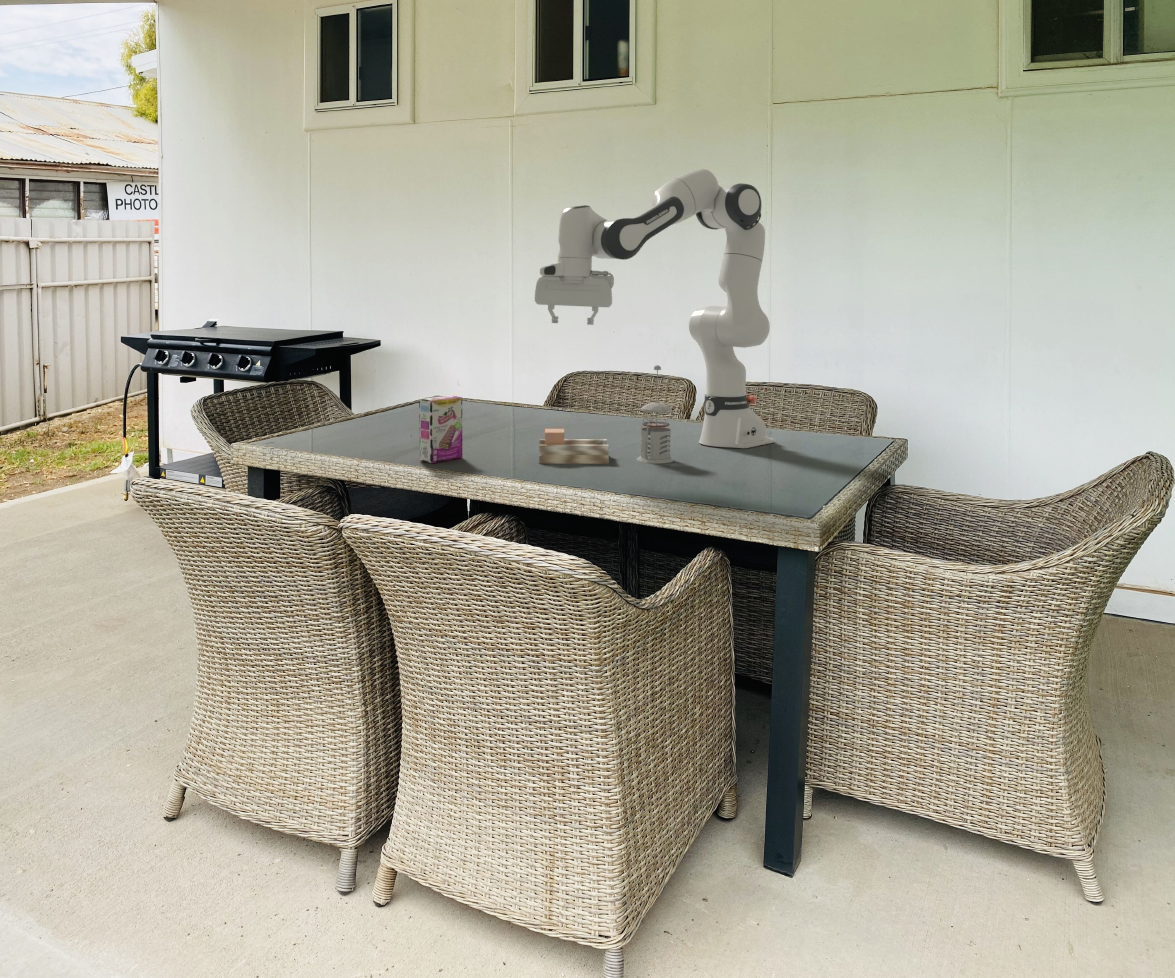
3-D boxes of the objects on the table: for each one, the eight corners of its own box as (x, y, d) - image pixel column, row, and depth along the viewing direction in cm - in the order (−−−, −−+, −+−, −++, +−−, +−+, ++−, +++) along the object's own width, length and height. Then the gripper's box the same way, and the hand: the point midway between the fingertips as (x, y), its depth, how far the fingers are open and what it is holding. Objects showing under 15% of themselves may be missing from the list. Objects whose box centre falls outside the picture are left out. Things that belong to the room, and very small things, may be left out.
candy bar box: (432, 464, 249) (430, 400, 246) (419, 461, 253) (417, 398, 249) (464, 458, 258) (463, 396, 254) (451, 455, 261) (449, 394, 257)
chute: (605, 454, 264) (606, 438, 263) (608, 463, 252) (609, 446, 251) (539, 454, 263) (539, 438, 262) (539, 463, 252) (539, 446, 251)
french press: (679, 458, 260) (682, 364, 254) (660, 466, 250) (662, 368, 244) (647, 455, 264) (649, 362, 259) (626, 461, 255) (628, 366, 249)
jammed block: (563, 449, 260) (563, 428, 259) (564, 453, 254) (564, 432, 253) (545, 449, 260) (545, 428, 259) (545, 453, 254) (545, 432, 253)
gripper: (615, 271, 254) (613, 325, 257) (538, 269, 257) (537, 322, 260) (612, 271, 248) (610, 326, 251) (534, 268, 251) (532, 322, 254)
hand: (572, 324), depth 255 cm, fingers open, 8 cm apart
